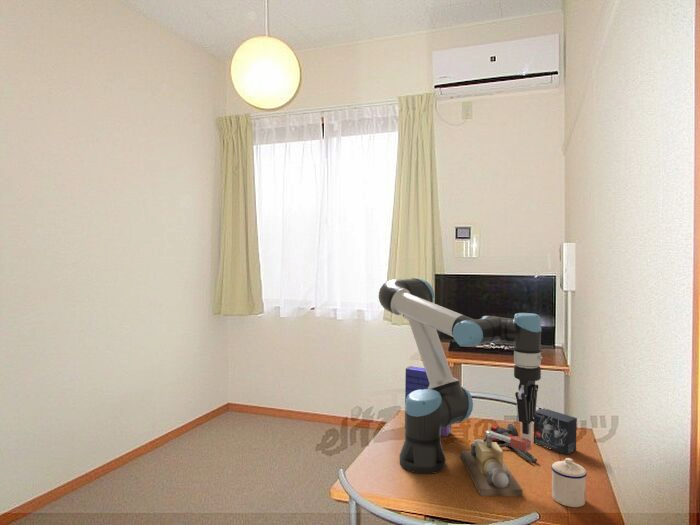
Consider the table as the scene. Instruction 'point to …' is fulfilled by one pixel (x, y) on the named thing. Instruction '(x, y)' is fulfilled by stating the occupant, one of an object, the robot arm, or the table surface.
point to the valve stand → (490, 470)
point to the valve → (511, 432)
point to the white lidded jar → (568, 483)
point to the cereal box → (419, 387)
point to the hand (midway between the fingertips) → (526, 443)
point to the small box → (555, 431)
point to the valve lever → (511, 440)
